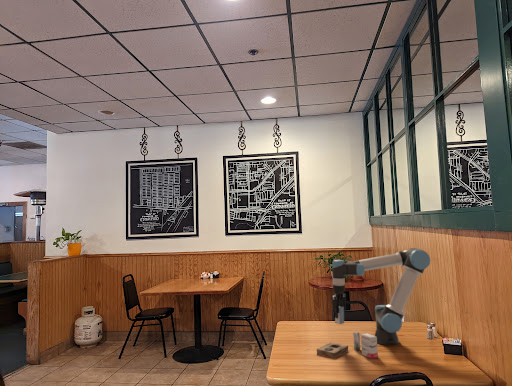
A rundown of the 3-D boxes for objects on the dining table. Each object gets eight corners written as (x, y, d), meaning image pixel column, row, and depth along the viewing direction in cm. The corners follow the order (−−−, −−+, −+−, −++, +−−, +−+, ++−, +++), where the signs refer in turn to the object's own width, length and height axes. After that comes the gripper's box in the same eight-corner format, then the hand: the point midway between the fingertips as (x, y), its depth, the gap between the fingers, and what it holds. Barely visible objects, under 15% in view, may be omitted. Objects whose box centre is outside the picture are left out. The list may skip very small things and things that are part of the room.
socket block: (348, 351, 224) (347, 345, 224) (334, 358, 212) (334, 353, 213) (330, 347, 232) (330, 342, 232) (316, 354, 220) (316, 348, 221)
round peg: (361, 349, 227) (360, 332, 228) (358, 350, 224) (357, 333, 225) (355, 348, 229) (355, 331, 230) (353, 349, 226) (352, 332, 227)
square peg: (344, 323, 232) (343, 306, 233) (340, 324, 229) (340, 307, 230) (338, 321, 235) (338, 305, 236) (335, 323, 232) (334, 306, 233)
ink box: (378, 357, 212) (377, 336, 213) (371, 359, 210) (370, 337, 211) (367, 353, 220) (366, 332, 221) (361, 354, 218) (360, 334, 219)
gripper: (340, 282, 243) (341, 319, 241) (326, 285, 230) (326, 324, 228) (351, 283, 237) (351, 321, 235) (336, 287, 225) (337, 326, 223)
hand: (339, 322), depth 232 cm, fingers closed on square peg, 4 cm apart
